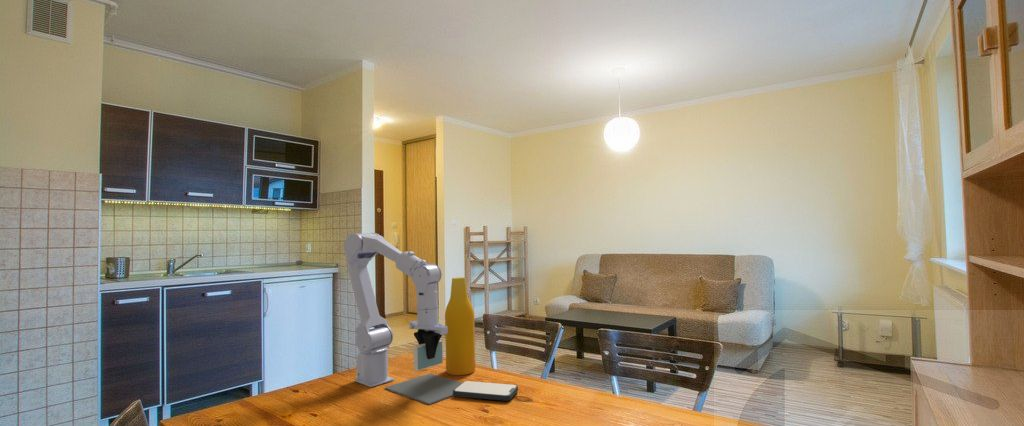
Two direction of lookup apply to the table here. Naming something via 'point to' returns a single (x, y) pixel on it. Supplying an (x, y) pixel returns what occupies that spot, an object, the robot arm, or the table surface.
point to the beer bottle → (460, 330)
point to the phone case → (486, 390)
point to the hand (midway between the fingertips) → (428, 357)
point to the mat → (426, 388)
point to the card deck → (421, 357)
